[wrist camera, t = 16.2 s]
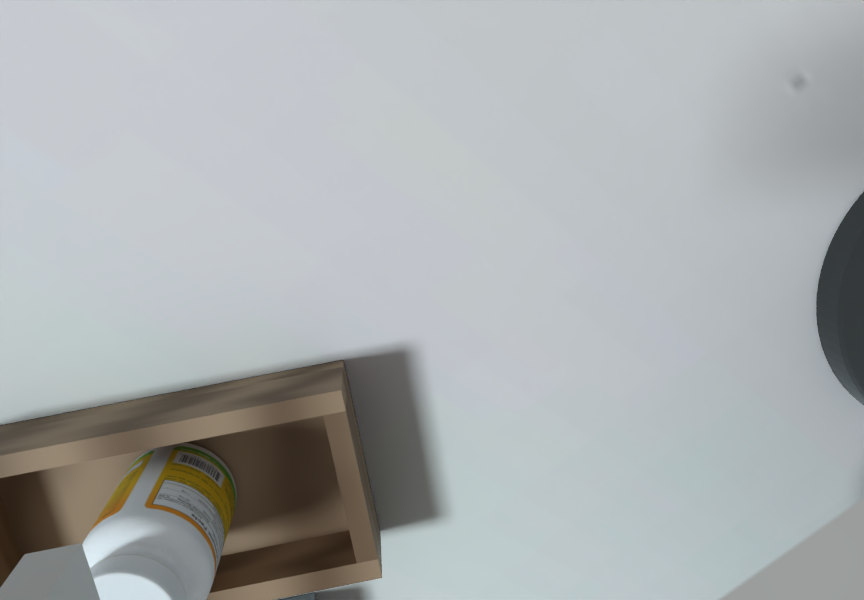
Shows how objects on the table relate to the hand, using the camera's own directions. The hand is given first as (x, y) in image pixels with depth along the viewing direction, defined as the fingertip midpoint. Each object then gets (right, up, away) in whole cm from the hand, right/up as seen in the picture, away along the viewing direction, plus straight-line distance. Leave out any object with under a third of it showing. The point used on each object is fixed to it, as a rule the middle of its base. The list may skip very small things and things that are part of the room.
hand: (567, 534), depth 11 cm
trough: (-14, -6, +28) cm, 32 cm away
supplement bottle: (-14, -6, +27) cm, 31 cm away
